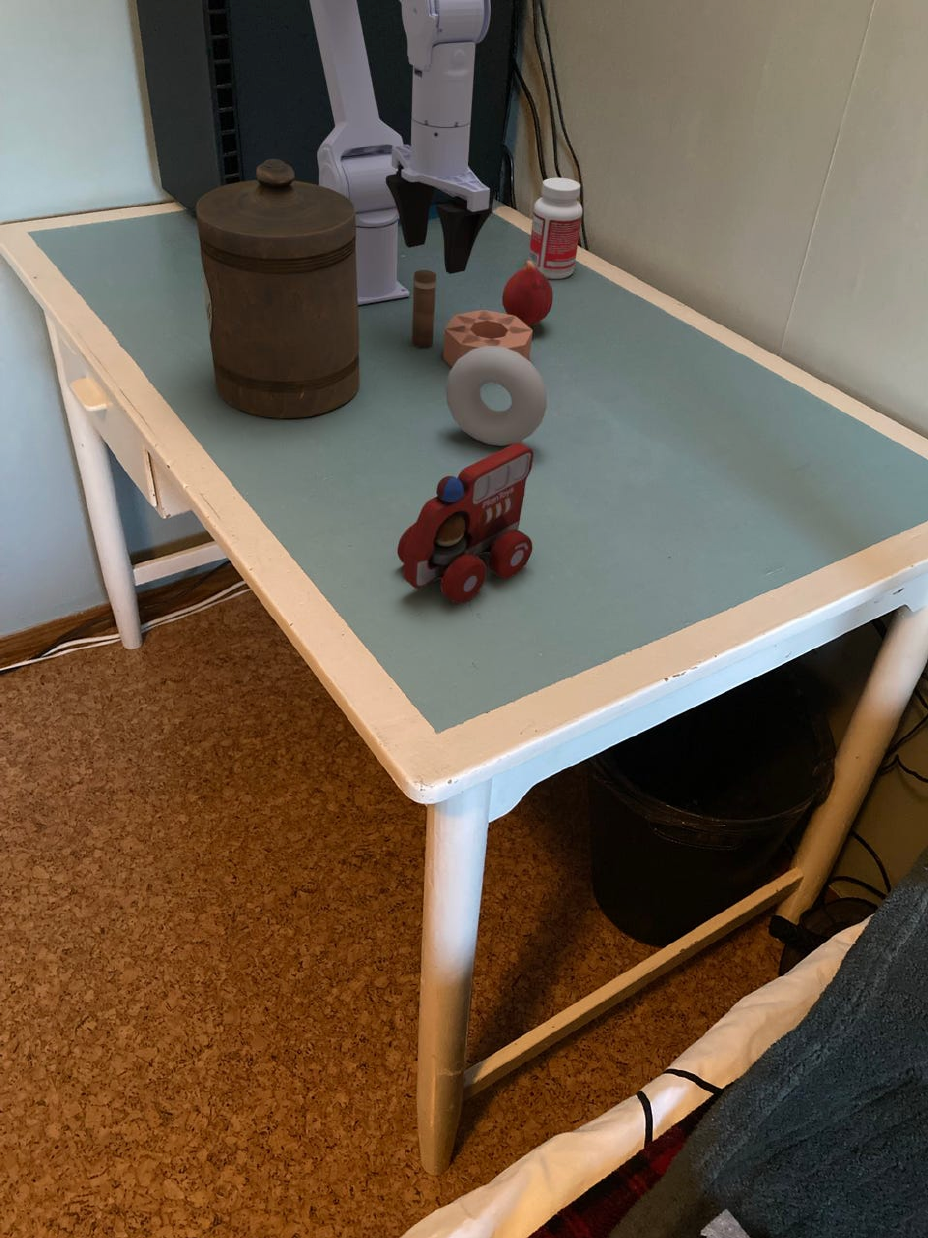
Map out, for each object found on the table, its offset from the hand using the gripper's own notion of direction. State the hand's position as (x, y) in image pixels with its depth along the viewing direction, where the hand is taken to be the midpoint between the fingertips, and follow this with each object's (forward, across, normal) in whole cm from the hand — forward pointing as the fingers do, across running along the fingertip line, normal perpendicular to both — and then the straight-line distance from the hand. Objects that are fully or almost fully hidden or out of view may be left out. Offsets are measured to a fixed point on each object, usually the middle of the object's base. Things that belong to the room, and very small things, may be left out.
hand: (434, 257), depth 102 cm
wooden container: (+10, 0, -18) cm, 21 cm away
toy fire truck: (+11, +34, -20) cm, 41 cm away
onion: (+10, +2, +12) cm, 16 cm away
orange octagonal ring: (+10, +6, +4) cm, 12 cm away
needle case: (+10, -1, 0) cm, 10 cm away
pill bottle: (+10, -10, +26) cm, 29 cm away
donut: (+10, +20, -6) cm, 23 cm away
